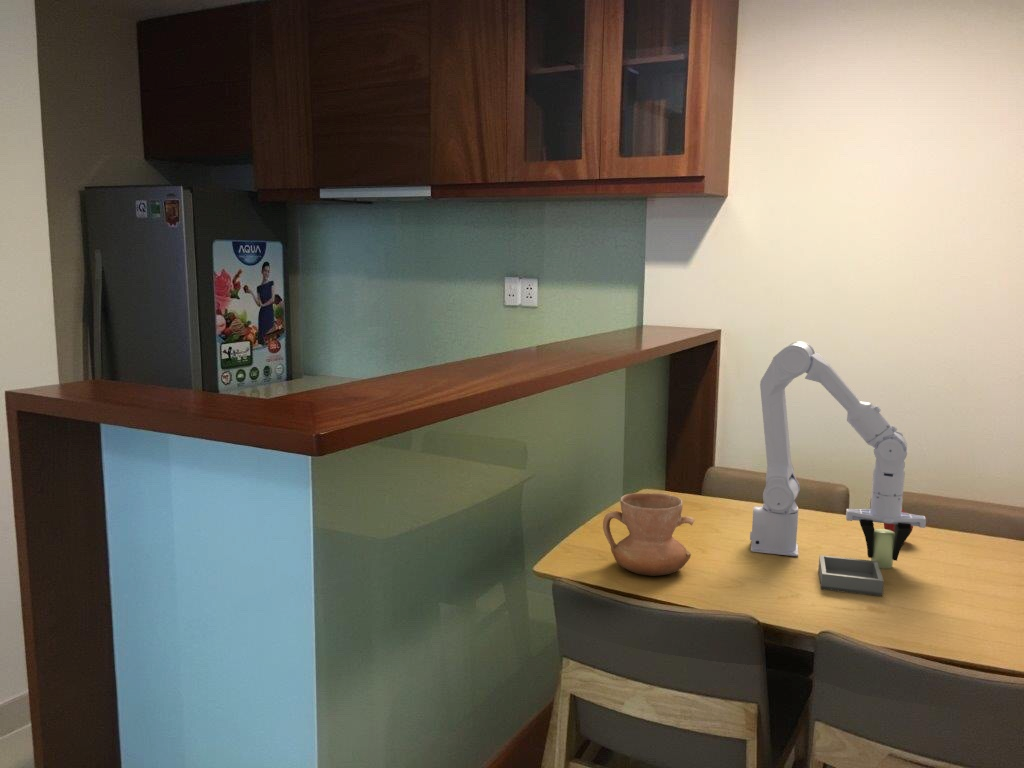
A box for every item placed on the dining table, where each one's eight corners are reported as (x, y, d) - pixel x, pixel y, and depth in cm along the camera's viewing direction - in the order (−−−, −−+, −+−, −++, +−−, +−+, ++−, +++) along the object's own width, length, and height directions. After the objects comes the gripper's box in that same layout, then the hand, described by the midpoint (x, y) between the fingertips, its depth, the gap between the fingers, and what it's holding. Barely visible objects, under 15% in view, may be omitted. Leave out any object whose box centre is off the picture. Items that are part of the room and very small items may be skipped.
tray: (821, 589, 157) (822, 573, 157) (818, 569, 167) (819, 555, 167) (882, 596, 154) (883, 580, 154) (876, 575, 164) (877, 561, 164)
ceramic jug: (698, 561, 171) (699, 493, 169) (688, 586, 157) (689, 513, 155) (611, 552, 177) (611, 486, 175) (594, 575, 163) (595, 504, 161)
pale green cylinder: (871, 567, 168) (874, 534, 167) (869, 560, 172) (872, 527, 171) (893, 569, 167) (896, 536, 166) (890, 563, 171) (893, 530, 170)
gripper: (849, 494, 166) (845, 560, 168) (930, 501, 162) (924, 568, 164) (847, 485, 173) (842, 548, 175) (924, 491, 168) (919, 556, 170)
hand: (882, 557), depth 170 cm, fingers closed on pale green cylinder, 4 cm apart
